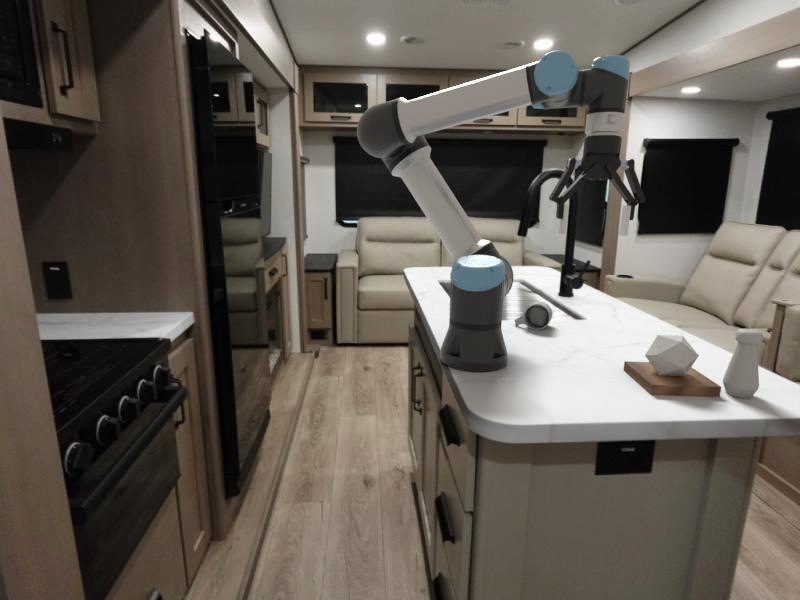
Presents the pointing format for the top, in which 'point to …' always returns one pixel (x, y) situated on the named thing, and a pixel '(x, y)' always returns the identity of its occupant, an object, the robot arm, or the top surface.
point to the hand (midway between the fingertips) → (592, 234)
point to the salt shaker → (744, 365)
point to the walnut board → (671, 381)
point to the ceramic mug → (536, 316)
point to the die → (671, 355)
